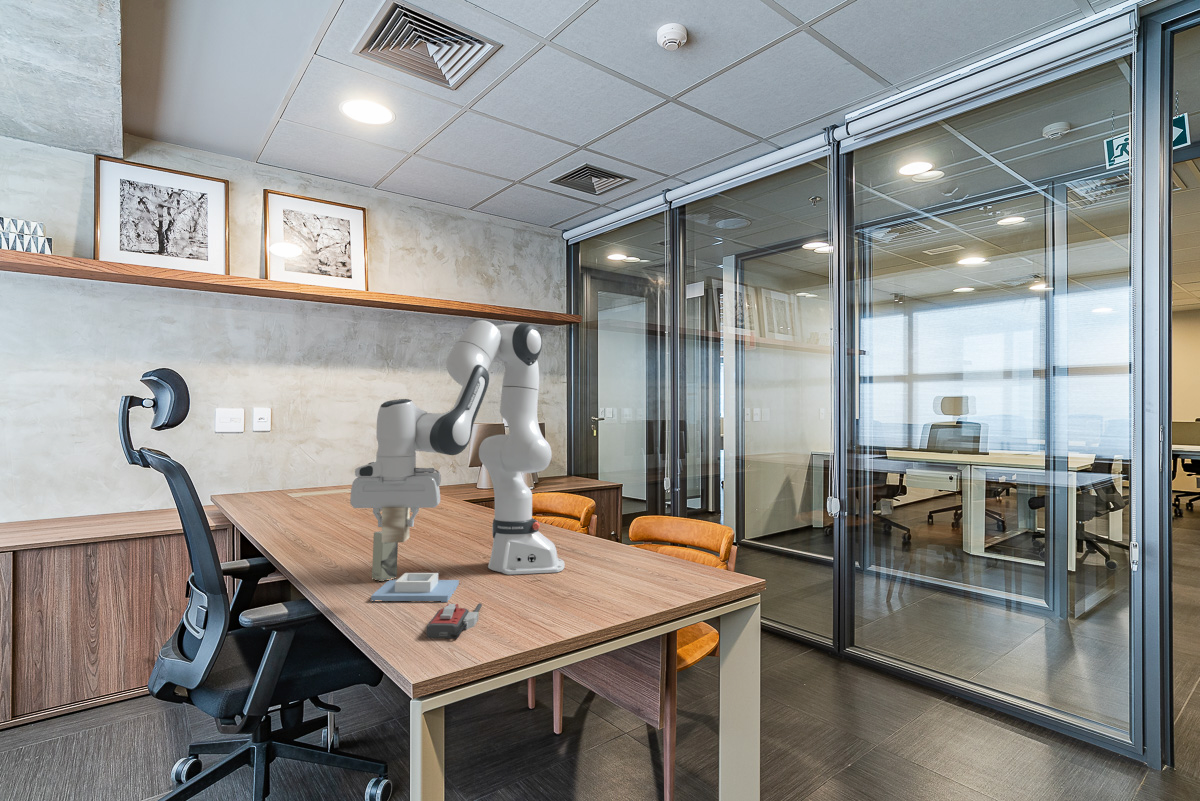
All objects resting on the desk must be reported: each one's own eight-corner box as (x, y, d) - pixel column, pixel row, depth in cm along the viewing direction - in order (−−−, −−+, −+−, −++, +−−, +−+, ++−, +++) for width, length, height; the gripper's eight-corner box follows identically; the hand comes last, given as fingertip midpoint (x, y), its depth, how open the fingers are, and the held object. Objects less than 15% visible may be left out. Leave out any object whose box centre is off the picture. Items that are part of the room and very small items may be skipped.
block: (409, 537, 144) (409, 504, 145) (403, 542, 139) (403, 507, 140) (388, 537, 144) (388, 504, 144) (381, 542, 139) (381, 507, 139)
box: (380, 582, 160) (381, 534, 160) (371, 580, 162) (372, 532, 163) (398, 578, 164) (399, 531, 164) (388, 576, 166) (389, 529, 167)
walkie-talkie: (467, 643, 119) (484, 610, 139) (467, 620, 119) (485, 591, 139) (422, 642, 119) (446, 610, 139) (423, 620, 119) (447, 591, 139)
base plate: (458, 585, 158) (459, 570, 158) (447, 602, 144) (447, 585, 144) (389, 585, 157) (389, 570, 157) (371, 602, 143) (371, 585, 143)
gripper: (443, 466, 146) (443, 523, 146) (357, 466, 145) (357, 524, 145) (437, 469, 139) (437, 528, 139) (347, 469, 138) (347, 529, 138)
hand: (395, 526), depth 142 cm, fingers closed on block, 5 cm apart
